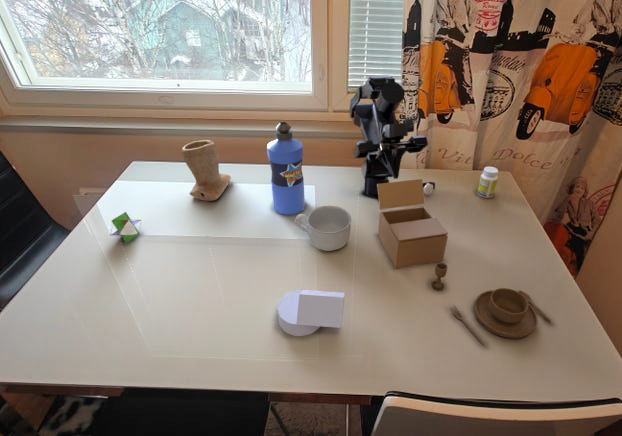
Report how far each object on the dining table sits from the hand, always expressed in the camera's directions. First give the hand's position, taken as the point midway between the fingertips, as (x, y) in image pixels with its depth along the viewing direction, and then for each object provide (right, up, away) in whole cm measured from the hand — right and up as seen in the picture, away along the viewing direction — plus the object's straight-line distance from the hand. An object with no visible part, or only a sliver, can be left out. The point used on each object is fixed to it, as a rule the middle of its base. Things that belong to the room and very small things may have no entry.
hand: (396, 178), depth 99 cm
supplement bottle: (+30, -3, +19) cm, 36 cm away
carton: (+3, -18, -2) cm, 18 cm away
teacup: (-19, -16, -1) cm, 25 cm away
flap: (+1, -4, -2) cm, 5 cm away
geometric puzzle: (-69, -15, +1) cm, 70 cm away
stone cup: (-55, -2, +21) cm, 59 cm away
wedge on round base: (-21, -31, -21) cm, 42 cm away
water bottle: (-29, -7, +13) cm, 33 cm away
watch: (+12, -2, +20) cm, 24 cm away
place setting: (+17, -28, -18) cm, 37 cm away
